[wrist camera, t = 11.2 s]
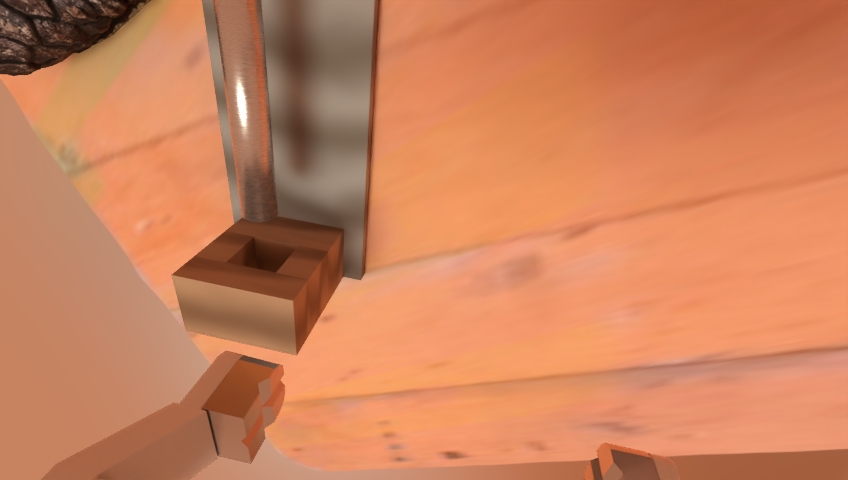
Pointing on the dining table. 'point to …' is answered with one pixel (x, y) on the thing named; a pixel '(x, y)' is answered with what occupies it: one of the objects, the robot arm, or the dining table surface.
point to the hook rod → (248, 105)
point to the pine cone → (56, 29)
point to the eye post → (294, 180)
